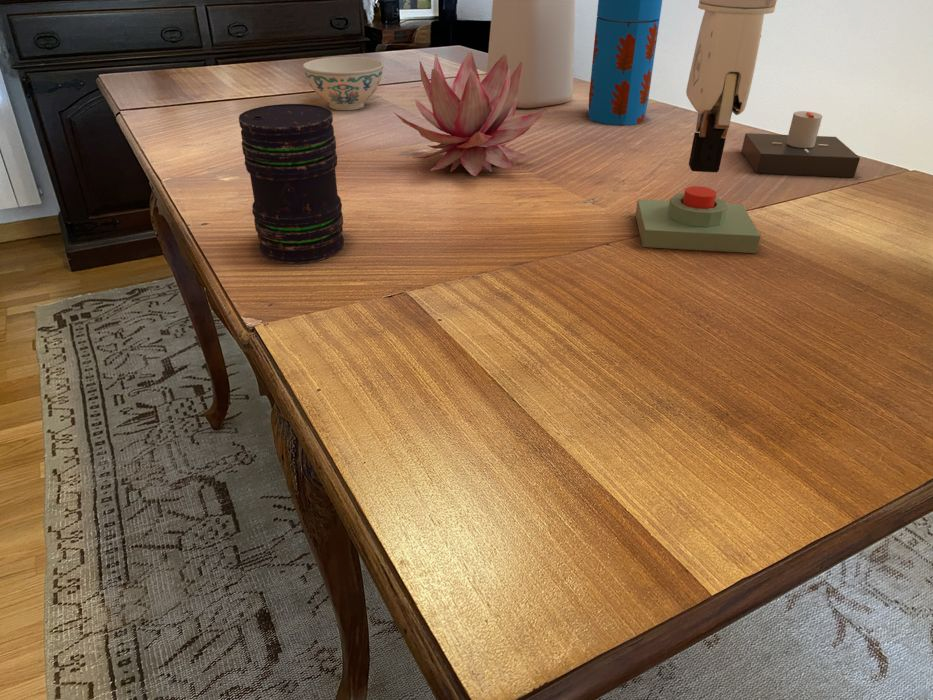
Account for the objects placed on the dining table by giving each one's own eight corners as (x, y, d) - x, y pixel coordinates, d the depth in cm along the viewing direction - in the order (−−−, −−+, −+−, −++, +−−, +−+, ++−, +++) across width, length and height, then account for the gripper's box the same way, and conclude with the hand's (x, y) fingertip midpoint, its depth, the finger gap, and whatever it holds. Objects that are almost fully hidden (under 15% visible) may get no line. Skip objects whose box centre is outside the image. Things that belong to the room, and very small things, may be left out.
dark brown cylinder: (336, 224, 88) (324, 100, 79) (353, 256, 80) (342, 122, 72) (254, 235, 85) (232, 107, 77) (263, 269, 77) (241, 131, 69)
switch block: (738, 220, 90) (745, 190, 88) (756, 253, 81) (764, 221, 79) (635, 215, 91) (639, 185, 89) (642, 247, 83) (647, 215, 81)
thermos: (656, 117, 132) (679, -34, 119) (625, 128, 126) (645, -30, 112) (608, 107, 138) (624, -38, 125) (575, 117, 132) (589, -35, 118)
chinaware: (328, 94, 146) (324, 54, 141) (396, 100, 142) (394, 59, 138) (293, 112, 133) (288, 69, 129) (367, 118, 130) (364, 74, 126)
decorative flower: (568, 174, 104) (578, 66, 96) (442, 200, 95) (441, 83, 87) (491, 138, 120) (493, 43, 112) (376, 157, 111) (370, 54, 102)
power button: (710, 200, 86) (713, 186, 85) (716, 211, 83) (719, 197, 82) (680, 199, 86) (683, 185, 85) (684, 210, 83) (687, 195, 82)
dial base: (830, 155, 113) (836, 135, 112) (854, 177, 104) (860, 156, 102) (741, 151, 115) (745, 132, 113) (756, 173, 106) (761, 152, 104)
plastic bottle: (520, 112, 135) (529, -57, 120) (476, 96, 145) (479, -61, 130) (581, 102, 142) (596, -59, 127) (534, 87, 152) (543, -62, 137)
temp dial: (783, 140, 110) (791, 108, 107) (810, 141, 109) (818, 109, 107) (789, 147, 106) (798, 115, 104) (817, 148, 106) (826, 116, 103)
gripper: (690, -15, 79) (662, 149, 89) (714, 1, 66) (678, 190, 76) (759, -13, 78) (724, 152, 88) (796, 4, 65) (750, 194, 75)
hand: (703, 169), depth 82 cm, fingers closed
